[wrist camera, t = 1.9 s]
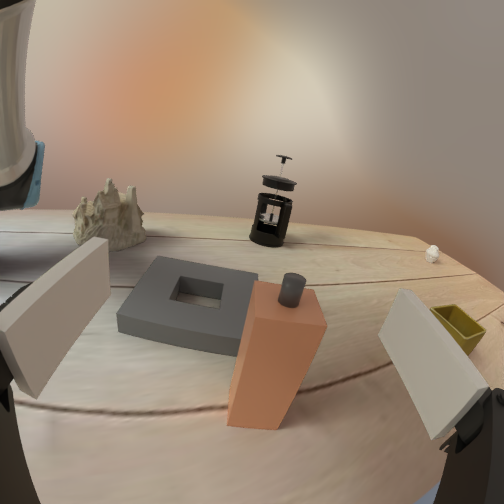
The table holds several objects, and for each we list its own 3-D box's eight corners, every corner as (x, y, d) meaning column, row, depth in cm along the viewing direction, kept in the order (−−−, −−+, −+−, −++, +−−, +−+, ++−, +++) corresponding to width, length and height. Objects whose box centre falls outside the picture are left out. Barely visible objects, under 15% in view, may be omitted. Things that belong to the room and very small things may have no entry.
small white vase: (426, 258, 94) (432, 242, 92) (438, 264, 89) (444, 248, 87) (420, 258, 92) (426, 241, 89) (431, 265, 87) (438, 248, 84)
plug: (226, 425, 23) (261, 290, 17) (229, 389, 27) (259, 257, 21) (276, 429, 23) (337, 301, 17) (274, 394, 28) (320, 268, 22)
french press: (242, 232, 76) (258, 150, 67) (270, 233, 81) (287, 156, 72) (263, 250, 67) (284, 156, 58) (293, 249, 72) (314, 163, 63)
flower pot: (405, 351, 38) (429, 306, 35) (432, 343, 40) (455, 303, 37) (434, 385, 30) (466, 339, 27) (460, 372, 33) (487, 330, 29)
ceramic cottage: (155, 240, 60) (156, 174, 54) (91, 260, 47) (86, 183, 41) (121, 224, 67) (121, 168, 61) (67, 239, 54) (63, 176, 48)
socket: (118, 331, 31) (116, 313, 30) (157, 270, 48) (157, 255, 47) (256, 359, 33) (261, 341, 31) (254, 288, 49) (257, 273, 48)
